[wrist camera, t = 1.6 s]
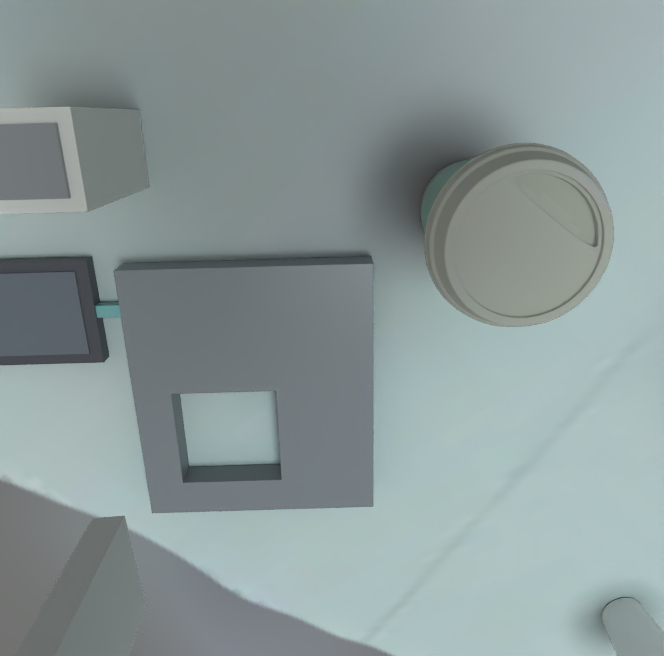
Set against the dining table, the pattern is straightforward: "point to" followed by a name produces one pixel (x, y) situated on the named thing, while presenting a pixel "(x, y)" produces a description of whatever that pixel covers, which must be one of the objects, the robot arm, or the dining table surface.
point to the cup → (632, 629)
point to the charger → (69, 158)
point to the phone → (52, 312)
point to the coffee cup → (516, 234)
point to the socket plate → (255, 375)
